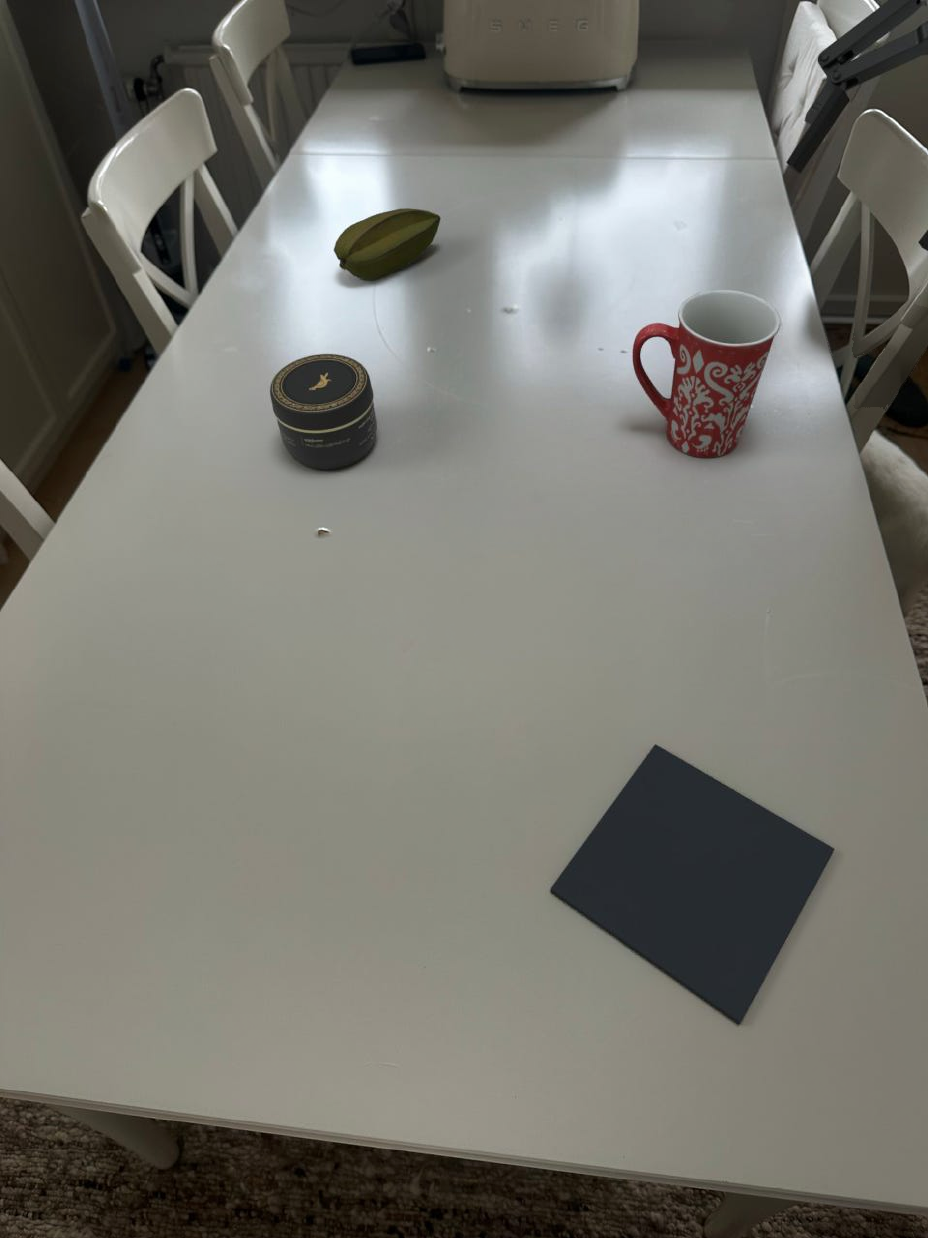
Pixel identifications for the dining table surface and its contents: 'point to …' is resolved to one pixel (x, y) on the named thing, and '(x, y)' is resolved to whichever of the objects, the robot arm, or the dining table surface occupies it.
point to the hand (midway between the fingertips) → (856, 207)
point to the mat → (695, 879)
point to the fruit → (386, 242)
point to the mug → (711, 368)
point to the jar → (325, 410)
